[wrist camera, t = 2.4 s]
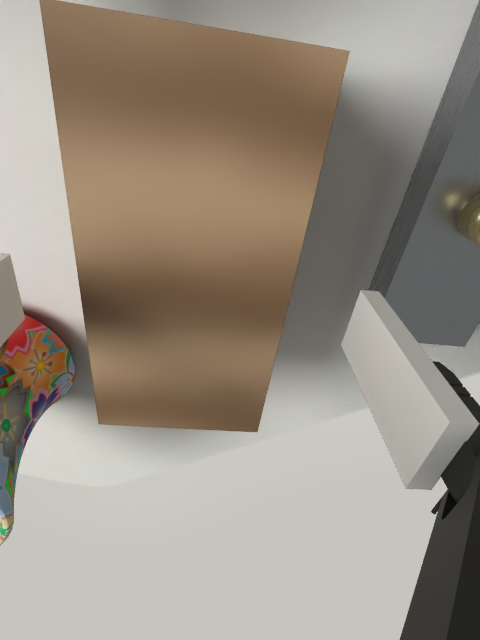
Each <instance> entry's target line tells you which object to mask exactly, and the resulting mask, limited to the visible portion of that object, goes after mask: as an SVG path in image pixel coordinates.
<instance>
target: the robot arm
mask: <svg viewBox="0 0 480 640" xmlns="http://www.w3.org/2000/svg"><path fill="white" fill-rule="evenodd" d="M24 319H25V316H24V311H23V307H22V303H21V299H20V295H19V290H18V286H17V282H16V278H15V274H14V269H13V265H12V261H11V257H10V254H3V253H0V347H1V346H2V345H3V343H4V342H5V341H6V340H7V339H8V338H9V336H10V335H11V334H12V333H13V332H14V331H15V330H16V328H17V327H18V326H19V325H20V324H21V323H22V321H23V320H24ZM341 346H342V348H343V351H344V353H345V355H346V357H347V360H348V362H349V364H350V366H351V368H352V371H353V373H354V375H355V377H356V379H357V382H358V384H359V386H360V388H361V391H362V393H363V395H364V397H365V399H366V402H367V404H368V406H369V408H370V410H371V413H372V415H373V417H374V419H375V422H376V423H377V426H378V428H379V430H380V433H381V435H382V436H383V439H384V441H385V444H386V446H387V448H388V450H389V452H390V455H391V457H392V459H393V461H394V464H395V466H396V468H397V470H398V472H399V475H400V477H401V479H402V481H403V484H404V486H405V488H406V489H425V490H426V489H427V490H431V489H432V488H433V487H434V485H435V484H436V483H437V481H438V480H439V479H440V477H442V479H443V481H444V483H445V484H446V486H447V488H448V490H447V491H446V492H445V494H444V495H443V496H442V498H441V499H440V500H439V502H438V503H437V504H436V505H435V507H434V508H433V509H432V511H431V512H432V513H433V514H436V512H437V511H438V514H437V517H436V520H435V523H434V527H433V530H432V534H431V537H430V540H429V544H428V547H427V550H426V554H425V557H424V560H423V564H422V567H421V571H420V574H419V577H418V580H417V584H416V587H415V591H414V594H413V597H412V601H411V604H410V607H409V611H408V614H407V617H406V621H405V624H404V627H403V631H402V634H401V637H400V640H480V406H479V405H478V403H477V402H476V401H475V400H474V398H473V397H470V393H469V392H468V391H467V390H466V388H465V387H462V383H461V382H460V381H459V380H458V378H457V377H456V376H455V375H454V373H453V372H451V371H450V370H449V369H447V368H446V367H445V366H444V365H442V364H441V363H440V362H433V361H431V359H430V358H429V357H428V355H427V354H426V353H425V351H424V350H423V349H422V347H421V346H420V345H419V344H418V342H417V341H416V340H415V338H414V337H413V336H412V334H411V333H410V332H409V330H408V329H407V328H406V326H405V325H404V324H403V322H402V321H401V320H400V318H399V317H398V316H397V314H396V313H395V312H394V311H393V309H392V308H391V307H390V305H389V304H388V303H387V301H386V300H385V299H384V297H383V296H382V295H381V293H380V292H378V291H368V290H360V293H359V296H358V299H357V302H356V304H355V307H354V310H353V313H352V316H351V318H350V321H349V324H348V327H347V330H346V332H345V335H344V338H343V341H342V344H341Z"/></svg>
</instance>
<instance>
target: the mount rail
mask: <svg viewBox="0 0 480 640" xmlns="http://www.w3.org/2000/svg"><path fill="white" fill-rule="evenodd" d="M369 291H378V292H380V293H381V295H382V296H383V297H384V299H385V300H386V301H387V303H388V304H389V305H390V307H391V308H392V309H393V311H394V312H395V313H396V314H397V316H398V317H399V318H400V320H401V321H402V322H403V324H404V325H405V326H406V328H407V329H408V330H409V332H410V333H411V334H412V336H413V337H414V338H415V340H416V341H417V342H418V343H427V344H439V345H452V346H464V347H465V345H466V343H467V342H468V340H469V338H470V337H471V335H472V334H473V332H474V330H475V329H476V327H477V325H478V324H479V322H480V1H479V3H478V6H477V9H476V11H475V14H474V17H473V19H472V22H471V24H470V27H469V30H468V32H467V35H466V37H465V40H464V43H463V45H462V48H461V51H460V53H459V56H458V58H457V61H456V64H455V66H454V69H453V72H452V74H451V77H450V79H449V82H448V85H447V87H446V90H445V92H444V95H443V98H442V100H441V103H440V106H439V108H438V111H437V113H436V116H435V119H434V121H433V124H432V127H431V129H430V132H429V134H428V137H427V140H426V142H425V145H424V147H423V150H422V153H421V155H420V158H419V161H418V163H417V166H416V168H415V171H414V174H413V176H412V179H411V182H410V184H409V187H408V189H407V192H406V195H405V197H404V200H403V202H402V205H401V208H400V210H399V213H398V216H397V218H396V221H395V223H394V226H393V229H392V231H391V234H390V237H389V239H388V242H387V244H386V247H385V250H384V252H383V255H382V257H381V260H380V263H379V265H378V268H377V271H376V273H375V276H374V278H373V281H372V284H371V286H370V289H369Z"/></svg>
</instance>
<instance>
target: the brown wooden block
mask: <svg viewBox="0 0 480 640" xmlns="http://www.w3.org/2000/svg"><path fill="white" fill-rule="evenodd" d="M40 7H41V14H42V21H43V28H44V36H45V43H46V50H47V57H48V64H49V71H50V79H51V86H52V93H53V100H54V107H55V114H56V122H57V129H58V136H59V143H60V150H61V157H62V165H63V172H64V179H65V186H66V193H67V200H68V208H69V215H70V222H71V229H72V236H73V243H74V250H75V258H76V265H77V272H78V279H79V286H80V293H81V301H82V308H83V315H84V322H85V329H86V336H87V344H88V351H89V358H90V365H91V372H92V379H93V387H94V394H95V401H96V408H97V415H98V422H99V424H104V425H124V426H144V427H164V428H184V429H204V430H224V431H244V432H257V431H258V427H259V423H260V419H261V415H262V411H263V406H264V402H265V398H266V394H267V390H268V386H269V382H270V378H271V373H272V369H273V365H274V361H275V357H276V353H277V349H278V345H279V340H280V336H281V332H282V328H283V324H284V320H285V316H286V312H287V307H288V303H289V299H290V295H291V291H292V287H293V283H294V279H295V274H296V270H297V266H298V262H299V258H300V254H301V250H302V246H303V241H304V237H305V233H306V229H307V225H308V221H309V217H310V213H311V208H312V204H313V200H314V196H315V192H316V188H317V184H318V180H319V175H320V171H321V167H322V163H323V159H324V155H325V151H326V147H327V142H328V138H329V134H330V130H331V126H332V122H333V118H334V114H335V110H336V105H337V101H338V97H339V93H340V89H341V85H342V81H343V77H344V72H345V68H346V64H347V60H348V56H349V52H350V51H347V50H341V49H335V48H330V47H324V46H318V45H312V44H306V43H301V42H295V41H289V40H283V39H277V38H272V37H266V36H260V35H254V34H248V33H243V32H237V31H231V30H225V29H219V28H214V27H208V26H202V25H196V24H190V23H185V22H179V21H173V20H167V19H161V18H156V17H150V16H144V15H138V14H132V13H127V12H121V11H115V10H109V9H103V8H98V7H92V6H86V5H80V4H74V3H69V2H63V1H57V0H40Z"/></svg>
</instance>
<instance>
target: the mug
mask: <svg viewBox="0 0 480 640" xmlns="http://www.w3.org/2000/svg"><path fill="white" fill-rule="evenodd" d="M24 316H25V319H24V320H23V321H22V323H21V324H20V325H19V326H18V327H17V328H16V330H15V331H14V332H13V333H12V334H11V335H10V336H9V338H8V339H7V340H6V341H5V342H4V343H3V345H2V346H1V347H0V545H1V544H2V543H3V542H4V541H5V540H6V539H7V538H8V536H9V534H10V532H11V530H12V527H13V523H14V494H15V485H16V478H17V473H18V468H19V464H20V460H21V457H22V453H23V450H24V448H25V445H26V442H27V440H28V438H29V436H30V434H31V432H32V430H33V428H34V426H35V424H36V423H37V421H38V420H39V418H40V417H41V416H42V414H43V413H44V412H45V411H46V410H47V409H48V408H49V407H50V406H51V405H52V404H54V403H55V402H57V401H58V400H60V399H61V398H62V397H64V396H65V395H66V394H67V392H68V391H69V390H70V388H71V387H72V384H73V382H74V377H75V366H74V362H73V358H72V356H71V354H70V352H69V350H68V348H67V347H66V345H65V344H64V343H63V341H62V340H61V339H60V338H59V337H58V336H57V335H56V334H55V333H54V332H53V331H52V330H50V329H49V328H48V327H46V326H45V325H43V324H42V323H40V322H39V321H37V320H35V319H33V318H31V317H29V316H27V315H24Z"/></svg>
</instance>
